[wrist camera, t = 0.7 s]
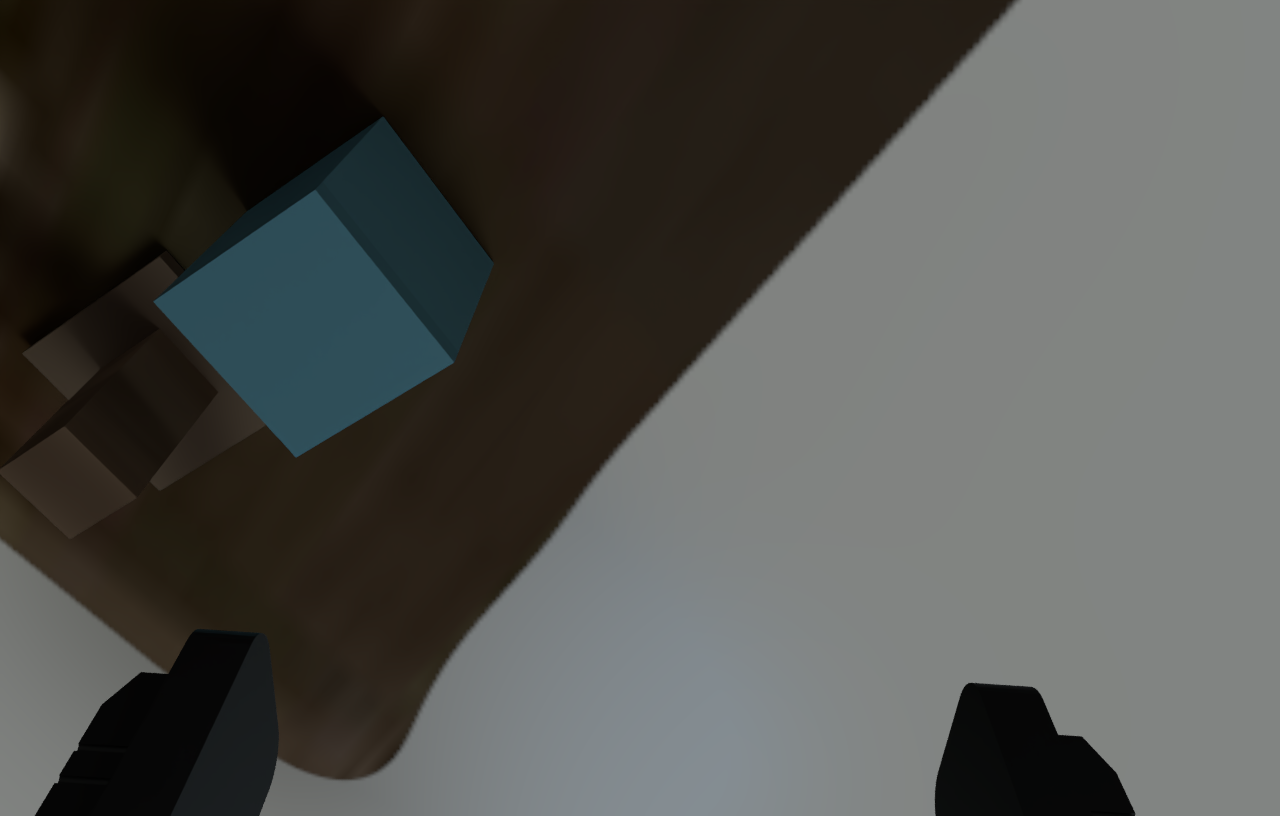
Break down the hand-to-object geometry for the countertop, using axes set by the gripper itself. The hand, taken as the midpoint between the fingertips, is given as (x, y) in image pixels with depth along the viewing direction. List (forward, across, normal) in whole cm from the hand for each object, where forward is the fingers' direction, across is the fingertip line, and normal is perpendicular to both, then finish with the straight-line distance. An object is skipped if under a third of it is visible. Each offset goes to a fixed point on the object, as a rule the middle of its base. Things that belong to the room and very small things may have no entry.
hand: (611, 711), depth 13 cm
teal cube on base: (+22, +8, +3) cm, 23 cm away
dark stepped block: (+22, +14, +8) cm, 27 cm away
